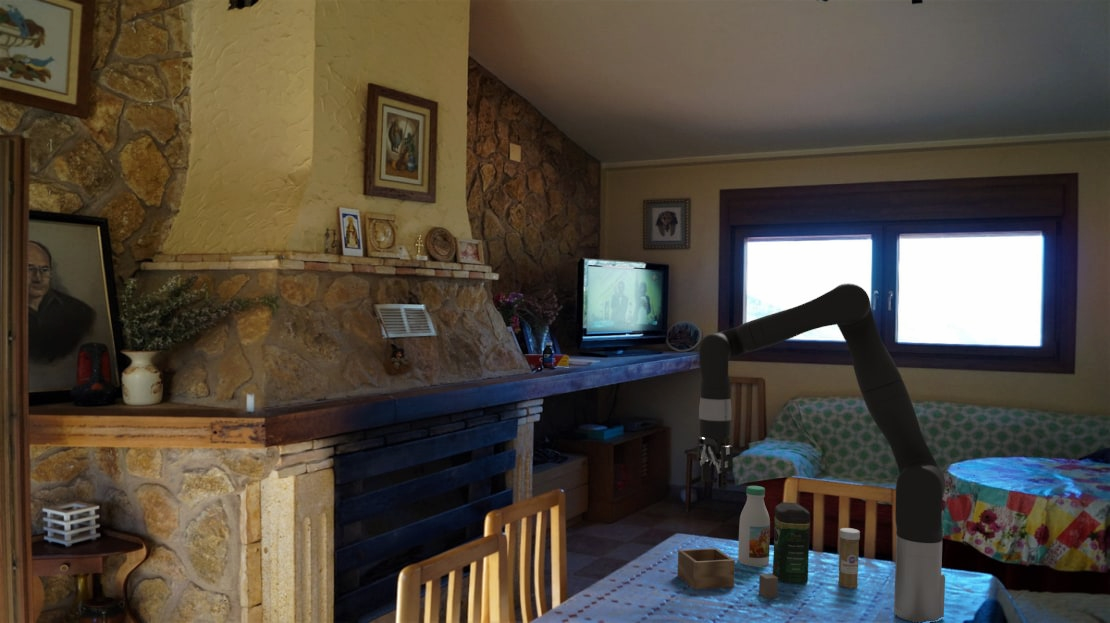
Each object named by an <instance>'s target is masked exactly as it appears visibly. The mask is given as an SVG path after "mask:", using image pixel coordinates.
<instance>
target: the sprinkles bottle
mask: <svg viewBox="0 0 1110 623" xmlns="http://www.w3.org/2000/svg"><path fill="white" fill-rule="evenodd" d="M860 533H861V531H860V530H858V529H855V528H851V527H841V528H840V529H839V549H838V585H839V586H840V587H841V588H842V587H843V588H848V589H854V588H858V586H859V584H858V577H859V575H858V574H859V555H860V553H859V552H860V551H859V546H860V545H859V542H860V539H861V535H860Z"/></svg>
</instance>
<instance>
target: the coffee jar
mask: <svg viewBox="0 0 1110 623" xmlns="http://www.w3.org/2000/svg"><path fill="white" fill-rule="evenodd" d="M774 508H775V509H774V538H773V555H772V556H773V559H772V574H773V575H774V576H776V577H778V582H779V583H785V584H794V585H796V584H797V585H804V584H808V581H809V554H810V552H809V550H810V532H811V530H810V527H811V513H810V512H809V510H808V509H807V508H805V507H804V506H801V504H799V503H798V502H789V501H787V502H786V501H783V502H780V503H779V504H777V505H776V506H775V507H774Z"/></svg>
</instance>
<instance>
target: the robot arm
mask: <svg viewBox="0 0 1110 623" xmlns="http://www.w3.org/2000/svg"><path fill="white" fill-rule="evenodd" d="M870 300H871V299H870V297H869V294H868V293H867V291H866V290H865V289H864V288H863V287H862V286H860V285H858V284H855V283H850V282H849V283H841V284H839V285H837V286H836V287H834V288H832V289H831V290H829V291H827V292H825V293H824V294H821V295H820V296H818V297H816V298H814V299H811V300H809V301H806V302H804V303H802V304H800V305H797V306H795V307H791V308H788V309H783V310H780V311H778V312H774V313H772V314H769V315H765V316H762V317H759V318H755V319H753V320H750V321H747V322H743V323H742V324H739V326H736V327H733V328H729V329H726V330H723V331H719V332H715V333H710V334H707V335H705V336H704V337H703V339H702V340H701V341H700V344H699V349H698V352H699V353H698V357H699V358H698V359H699V361H698V362H699V368H700V369H699V370H700V400H699V408H698V410H699V411H698V436H699V437H698V438H697V446H696V447H697V448H696V461H697V462H698V463H699V465H700V466H701V475H700V476H701V482H703V483H710V482H711V481H712V463H713V465H714V466H715V467H716V472H717V474H716V476H717V478H716V479H717V481H716V488H717V489H718V490H726V489H728V474H729V473H732V472H733V470H734V466H733V464H734V462H733V461H734V460H733V458H734V456H733V453H734V452H733V451H734V450H733V446H732V445H726V444H727V443H726V440H727V439H730V438H731V436H732V403H731V390H732V389H731V386H732V384H731V378H730V374H729V360H731V359H733V358H736V357H739V356H741V355H744V354H746V353H752V352H757V351H760V350H763V349H766V348H769V347H771V346H774V345H775V346H776V345H777V344H780V343H783V342H786V341H789V340H790V339H793V338H794V337H797V336H799V335H802V334H804V333H807V332H810V331H813V330H817V329H821V328H824V327H830V326H835V325H837V328H838V329H839V331H840V333H841V335H842V337H843V339H844V341H845V342H846V345H847V348H848V350H849V352H850V357H851V360H852V367H853V370H854V374H855V379H856V381H857V385H858V387H859V390H860V393H861V395H862V396H861V397H862V398H863V401H864V403H865V405H866V408H867V410H868V413H869V414H870V415H871V418H872V420H873V421H874V423H875V424H876V427H878V429H879V430H880V432H881V433H882V435H883V436H884V438H885V439H886V441H887V443H888V445H889V446H890V447H889V448H891V451H892V453H893V456H894V459H895V460H894V461H895V463H896V465H897V469H898V473H899V475H898V477H897V480H896V483H895V513H894V515H895V520H894V521H895V525H896V531H895V532H896V534H895V535H896V538H895V541H896V542H895V564H894V565H895V566H894V568H895V569H894V570H895V571H894V572H895V573H894V598H893V600H894V602H893V614H894V615H895V616H896V615H897V616H896V617H898V618H900V619H902V620H904V619H905V620H904V621H907V620H909V621H908V622H911V621H915V622H914V623H917V622H926V621H935V620H938V619H939V618H941V617H944V618H945V594H946V593H945V592H946V575H945V574H943V573H942V566H943V565H942V564H943V562H942V559H943V558H942V557H943V537H944V534H943V533H944V532H943V531H944V530H943V522H942V521H943V495H944V493H945V489H946V480H945V476H944V474H943V472H942V470H941V468H940V466H939V464H938V463H937V461H936V459H935V457H934V455H933V454H932V452H931V450H930V448H929V447H928V446H929V445H928V444H927V442H926V440H925V438H924V435H923V433H922V430H921V426H920V423H919V420H918V418H917V414H916V411H915V408H914V406H913V402H912V400H911V396H910V394H909V392H908V390H907V387H906V384H905V381H904V380H903V377H902V375H901V373H900V371H899V368H898V367H897V365H896V363H895V361H894V359H893V358H892V356H891V354H890V352H889V351H888V349H887V347H886V346H885V344H884V342H883V340H882V337H881V336H880V332H879V331H878V327H877V323H876V321H875V317H874V313H873V311H872V305H871V301H870Z"/></svg>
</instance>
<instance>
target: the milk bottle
mask: <svg viewBox="0 0 1110 623" xmlns="http://www.w3.org/2000/svg"><path fill="white" fill-rule="evenodd" d="M765 494H766V489H765V487H763V486H759V485H749V486H746V502H745V504H744V507H743V509H742V511H741V513H740V516H739V526H738V528H739V529H738V551H737V552H738V553H737V554H738V556H737V558H738V559H737V560H738V563H740V564H742V565H745V566H750V567H766V566H769V565H770V564H769V563H770V546H771V545H770V541H771V540H770V538H771V521H770V520H771V519H770V516H769V512H768V510H767V507H766V505H765V500H764V498H765V497H766V496H765Z"/></svg>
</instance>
